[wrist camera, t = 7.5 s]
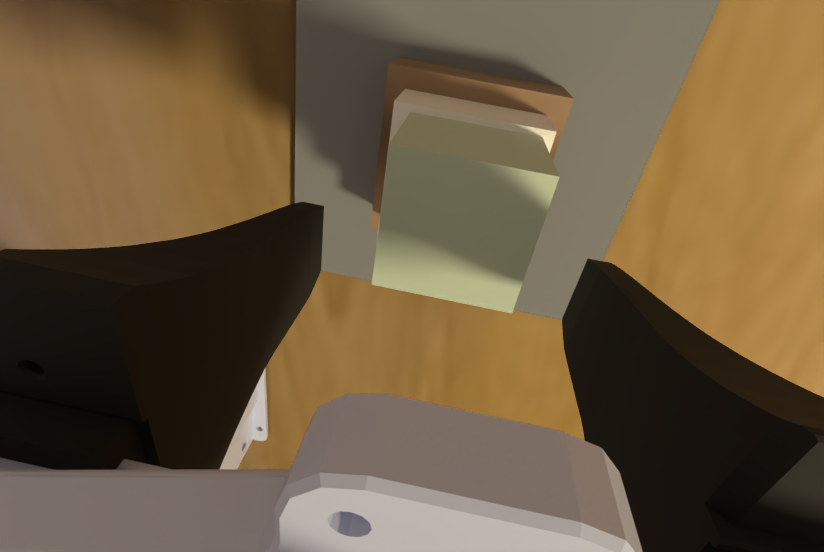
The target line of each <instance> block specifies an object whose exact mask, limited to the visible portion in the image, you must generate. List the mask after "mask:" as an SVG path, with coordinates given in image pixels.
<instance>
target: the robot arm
mask: <svg viewBox="0 0 824 552" xmlns="http://www.w3.org/2000/svg"><path fill="white" fill-rule="evenodd" d="M323 219H324V206H322V205H317V204H312V203H307V202H298V203H294V204H291V205H288V206H285V207H282V208H280V209H277V210H274V211H271V212H269V213H266V214H263V215H260V216H258V217H255V218H252V219H249V220H246V221H243V222H240V223H237V224H234V225H230V226H227V227H224V228H221V229H218V230H214V231H210V232H206V233H202V234H198V235H193V236H189V237H184V238H179V239H174V240H167V241H160V242H153V243H146V244H139V245H131V246H121V247H109V248H92V249H67V250H20V249H4V250H1V251H0V552H824V397H821V396H819V395H817V394H815V393H812V392H810V391H808V390H806V389H804V388H802V387H800V386H798V385H796V384H794V383H792V382H790V381H788V380H786V379H784V378H782V377H780V376H778V375H776V374H774V373H772V372H770V371H768V370H767V369H765V368H763V367H761V366H759V365H757V364H755V363H753V362H752V361H750V360H748V359H746V358H745V357H743V356H741V355H739V354H738V353H736V352H735V351H733V350H731V349H730V348H728V347H726V346H725V345H723V344H722V343H720V342H718V341H717V340H715V339H713V338H712V337H710V336H709V335H707V334H706V333H704V332H703V331H701V330H700V329H699V328H697V327H696V326H694V325H693V324H692V323H690V322H689V321H687V320H686V319H685V318H683V317H682V316H680V315H679V314H678V313H676V312H675V311H674V310H672V309H671V308H670V307H669V306H667V305H666V304H665V303H663V302H662V301H661V300H660V299H658V298H657V297H656V296H655V295H653V294H652V293H651V292H650V291H648V290H647V289H646V288H645V287H643V286H642V285H641V284H640V283H638V282H637V281H636V280H635V279H633V278H632V277H631V276H629V275H628V274H627V273H625V272H624V271H623V270H621V269H620V268H618V267H617V266H615V265H613V264H612V263H608V262H603V261H598V260H593V259H587V261H586V264H585V266H584V268H583V271H582V273H581V275H580V278H579V280H578V282H577V285H576V287H575V290H574V292H573V294H572V297H571V299H570V301H569V304H568V306H567V308H566V311H565V313H564V315H563V318H562V326H563V341H564V350H565V355H566V359H567V363H568V368H569V372H570V376H571V380H572V384H573V388H574V392H575V396H576V400H577V404H578V408H579V412H580V417H581V421H582V426H583V431H584V437H585V441H584V440H582V439H579V438H577V437H575V436H572V435H570V434H568V433H565V432H563V431H559V430H555V429H550V428H545V427H540V426H536V425H531V424H526V423H522V422H517V421H512V420H508V419H503V418H498V417H494V416H489V415H484V414H480V413H475V412H470V411H465V410H461V409H456V408H451V407H447V406H442V405H437V404H433V403H428V402H423V401H419V400H414V399H409V398H404V397H400V396H395V395H390V394H366V393H348V394H345V395H343V396H341V397H339V398H336V399H334V400H332V401H330V402H328V403H325V404H323V405H321V406H319V407H317V409H316V412H315V414H314V416H313V418H312V420H311V422H310V424H309V426H308V428H307V430H306V433H305V435H304V438H303V440H302V442H301V445H300V447H299V450H298V452H297V455H296V457H295V459H294V462H293V464H292V467H291V469H237V468H238V466H239V465H240V463H241V461H242V459H243V457H244V455H245V453H246V451H247V449H248V447H249V446H250V444H251V442H252V440H257V441H265V440H266V439H267V437H268V418H267V393H266V365H267V364H268V362H269V360H270V358H271V357H272V355H273V353H274V352H275V350H276V349H277V347H278V345H279V344H280V342H281V341H282V339H283V338H284V336H285V335H286V333H287V331H288V330H289V328H290V327H291V325H292V324H293V322H294V320H295V319H296V317H297V316H298V314H299V313H300V311H301V309H302V308H303V306H304V305H305V303H306V301H307V300H308V298H309V296H310V294H311V292H312V290H313V288H314V285H315V283H316V281H317V278H318V276H319V274H320V271H321V263H322V241H323Z"/></svg>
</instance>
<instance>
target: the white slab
mask: <svg viewBox="0 0 824 552" xmlns="http://www.w3.org/2000/svg"><path fill="white" fill-rule="evenodd" d="M410 112H415V113H420V114H425V115H430V116H436V117H441V118H446V119H451V120H456V121H462V122H467V123H472V124H477V125H483V126H488V127H493V128H498V129H503V130H509V131H514V132H519V133H524V134H529V135H535V136H540V137H543V140H544V142H545V144H546V146H547V149H548V151H549V153H550V151H551V148H552V145H553V141H554V138H555V135H556V130H555V128H554V126H553V124H552V123H551V121H550V119H549V117H548V116H547V115H542V114H537V113H532V112H526V111H521V110H516V109H511V108H505V107H500V106H495V105H489V104H484V103H479V102H474V101H468V100H463V99H458V98H452V97H447V96H442V95H436V94H431V93H426V92H421V91H415V90H410V89H404V91H403V92H402V93H401V94H400V95H399V96H398V97H397V98H396V99H395V100H394V106H393V114H392V122H391V130H390V139H389V143H390V142H391V140H392V139H393V137H394V136H395V134H396V133H397V131H398V130H399V128H400V127H401V125H402V124H403V122H404V121H405V119H406V118H407V116H408V115H409V113H410ZM388 150H389V147H388ZM387 158H388V155H387ZM386 166H387V163H386ZM385 174H386V171H385ZM384 182H385V179H384ZM383 190H384V187H383ZM382 198H383V196H382ZM381 206H382V204H381ZM380 214H381V212H380ZM379 222H380V220H379ZM378 230H379V228H378ZM377 238H378V236H377Z"/></svg>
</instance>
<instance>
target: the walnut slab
mask: <svg viewBox="0 0 824 552" xmlns="http://www.w3.org/2000/svg"><path fill="white" fill-rule="evenodd" d="M404 89H410V90H415V91H421V92H426V93H431V94H436V95H442V96H447V97H452V98H458V99H463V100H468V101H474V102H479V103H484V104H489V105H495V106H500V107H505V108H511V109H516V110H521V111H526V112H532V113H537V114H542V115H547V116H548V117H549V119H550V121H551V123H552V124H553V126H554V128H555V130H556V135H555V138H554V141H553V145H552V148H551V151H550V156H551V158H552V160H554V157H555V154H556V151H557V148H558V145H559V142H560V139H561V136H562V133H563V130H564V127H565V124H566V121H567V118H568V115H569V112H570V109H571V106H572V103H573V100H574V98H573V97H572V96H571V95H570V94H569V93H568V92H567V91H566V89H565V88H563V87H558V86H553V85H547V84H542V83H537V82H531V81H526V80H521V79H515V78H510V77H505V76H499V75H494V74H489V73H483V72H478V71H472V70H467V69H462V68H456V67H451V66H446V65H440V64H435V63H430V62H424V61H419V60H414V59H408V58H403V57H398V58H397V59H395V60H394V61H392V62H391V63H389V64H388V73H387V82H386V91H385V100H384V109H383V118H382V127H381V136H380V145H379V154H378V163H377V172H376V181H375V189H374V198H373V207H372V216H371V225H370V229H371V230H375V231H378V228H379V220H380V212H381V204H382V196H383V187H384V179H385V171H386V163H387V155H388V147H389V139H390V130H391V122H392V114H393V106H394V100H395V99H396V98H397V97H398V96H399V95H400V94H401V93H402V92H403V91H404Z"/></svg>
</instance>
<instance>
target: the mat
mask: <svg viewBox="0 0 824 552" xmlns="http://www.w3.org/2000/svg"><path fill="white" fill-rule="evenodd" d="M719 2H720V0H296V91H295V203H298V202H307V203H312V204H317V205H322V206H324V219H323V241H322V263H321V271H325V272H330V273H335V274H340V275H345V276H350V277H355V278H359V279H364V280H369V281H372V278H373V270H374V262H375V254H376V246H377V236H378V231H375V230H371V229H370V225H371V216H372V207H373V198H374V189H375V181H376V172H377V163H378V154H379V145H380V136H381V127H382V118H383V109H384V100H385V91H386V82H387V73H388V64H389V63H391V62H392V61H394V60H395V59H397V58H398V57H403V58H408V59H414V60H419V61H424V62H430V63H435V64H440V65H446V66H451V67H456V68H462V69H467V70H472V71H478V72H483V73H489V74H494V75H499V76H505V77H510V78H515V79H521V80H526V81H531V82H537V83H542V84H547V85H553V86H558V87H563V88H565V89H566V91H567V92H568V93H569V94H570V95H571V96H572V97H573V98H574V100H573V103H572V106H571V109H570V112H569V115H568V118H567V121H566V124H565V127H564V130H563V133H562V136H561V139H560V142H559V145H558V148H557V151H556V154H555V157H554V160H553V163H554V165H555V167H556V170H557V172H558V174H559V176H560V177H559V180H558V183H557V186H556V189H555V192H554V195H553V197H552V200H551V203H550V206H549V209H548V212H547V215H546V218H545V220H544V223H543V226H542V229H541V232H540V235H539V238H538V240H537V243H536V246H535V249H534V252H533V255H532V258H531V261H530V263H529V266H528V269H527V272H526V275H525V278H524V281H523V284H522V286H521V289H520V292H519V295H518V298H517V301H516V304H515V307H514V309H513V310H515V311H520V312H525V313H530V314H535V315H539V316H544V317H549V318H554V319H559V320H562V318H563V315H564V313H565V311H566V308H567V306H568V304H569V301H570V299H571V297H572V294H573V292H574V290H575V287H576V285H577V282H578V280H579V278H580V275H581V273H582V271H583V268H584V266H585V264H586V261H587V259H593V260H598V261H603V259H604V257H605V254H606V252H607V250H608V248H609V246H610V243H611V241H612V239H613V237H614V234H615V232H616V230H617V228H618V226H619V223H620V221H621V219H622V217H623V215H624V212H625V210H626V208H627V206H628V203H629V201H630V199H631V197H632V195H633V192H634V190H635V188H636V186H637V184H638V181H639V179H640V177H641V175H642V172H643V170H644V168H645V166H646V164H647V161H648V159H649V157H650V155H651V153H652V150H653V148H654V146H655V144H656V141H657V139H658V137H659V135H660V133H661V130H662V128H663V126H664V124H665V122H666V119H667V117H668V115H669V113H670V110H671V108H672V106H673V104H674V102H675V99H676V97H677V95H678V93H679V90H680V88H681V86H682V84H683V82H684V79H685V77H686V75H687V73H688V71H689V68H690V66H691V64H692V62H693V59H694V57H695V55H696V53H697V51H698V48H699V46H700V44H701V42H702V40H703V37H704V35H705V33H706V31H707V28H708V26H709V24H710V22H711V20H712V17H713V15H714V13H715V11H716V9H717V6H718V4H719Z"/></svg>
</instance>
